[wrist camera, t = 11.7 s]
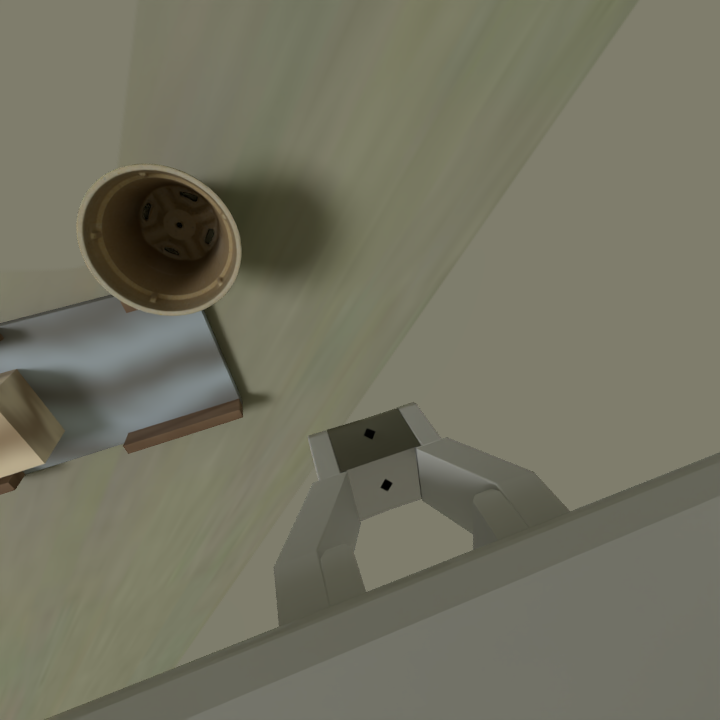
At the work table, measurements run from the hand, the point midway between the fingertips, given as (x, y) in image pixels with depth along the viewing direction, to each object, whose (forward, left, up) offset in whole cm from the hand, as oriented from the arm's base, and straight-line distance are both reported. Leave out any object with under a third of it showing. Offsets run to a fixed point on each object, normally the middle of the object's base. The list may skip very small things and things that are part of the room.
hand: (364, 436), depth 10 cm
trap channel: (+8, -20, -28) cm, 35 cm away
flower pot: (-3, -7, -28) cm, 29 cm away
